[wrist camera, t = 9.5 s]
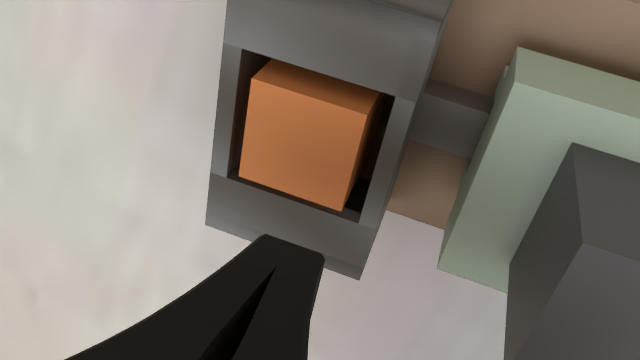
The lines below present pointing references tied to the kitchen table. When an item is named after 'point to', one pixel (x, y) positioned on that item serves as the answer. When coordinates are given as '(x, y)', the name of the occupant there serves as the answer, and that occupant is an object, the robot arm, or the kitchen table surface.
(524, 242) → the carriage
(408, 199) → the rail base
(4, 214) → the kitchen table surface
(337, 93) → the button
